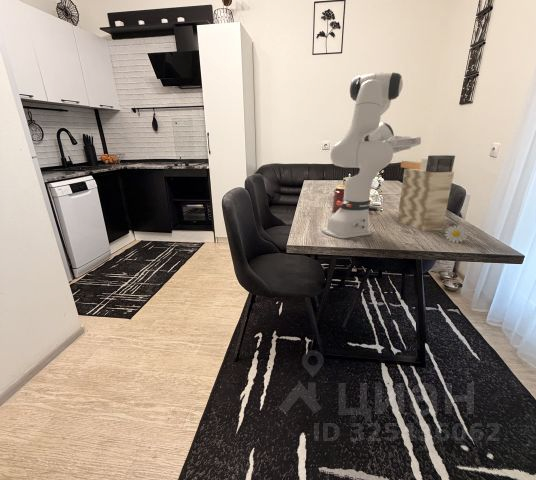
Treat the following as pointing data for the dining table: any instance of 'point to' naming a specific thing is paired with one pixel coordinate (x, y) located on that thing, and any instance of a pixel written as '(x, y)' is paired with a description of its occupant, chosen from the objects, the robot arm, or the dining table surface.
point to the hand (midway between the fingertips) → (407, 141)
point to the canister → (338, 196)
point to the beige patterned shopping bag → (426, 194)
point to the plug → (415, 164)
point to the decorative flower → (455, 234)
